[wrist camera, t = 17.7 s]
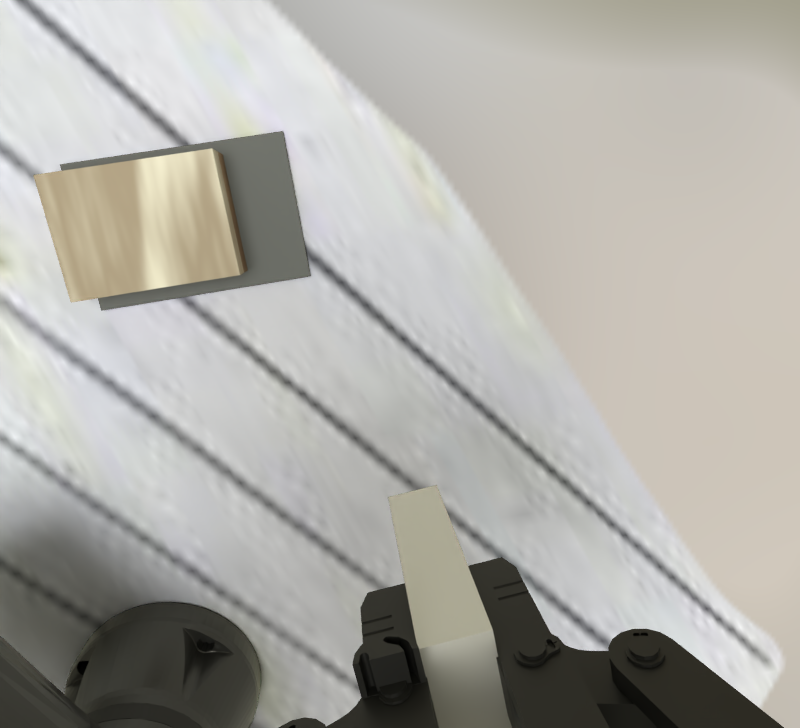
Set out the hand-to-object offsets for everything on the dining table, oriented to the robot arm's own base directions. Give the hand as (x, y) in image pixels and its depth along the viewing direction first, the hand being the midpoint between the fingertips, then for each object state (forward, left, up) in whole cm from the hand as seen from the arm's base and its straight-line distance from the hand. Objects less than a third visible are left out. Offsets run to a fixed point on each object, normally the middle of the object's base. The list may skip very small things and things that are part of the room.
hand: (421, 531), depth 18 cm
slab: (-8, +11, -26) cm, 29 cm away
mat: (-11, +11, -28) cm, 32 cm away
